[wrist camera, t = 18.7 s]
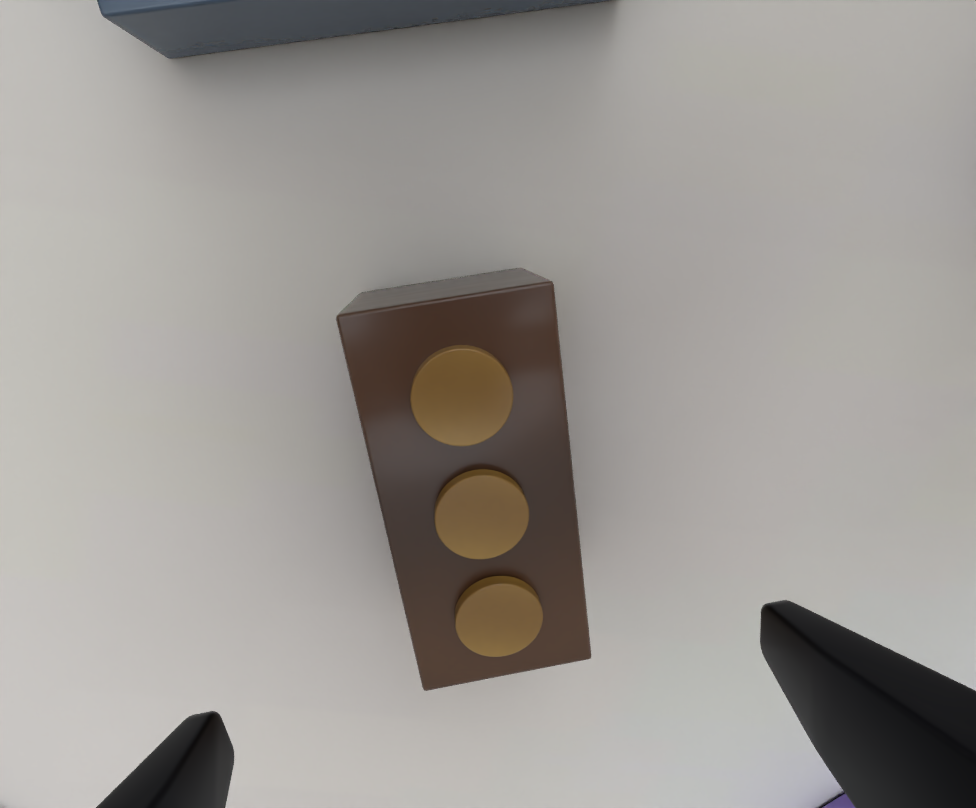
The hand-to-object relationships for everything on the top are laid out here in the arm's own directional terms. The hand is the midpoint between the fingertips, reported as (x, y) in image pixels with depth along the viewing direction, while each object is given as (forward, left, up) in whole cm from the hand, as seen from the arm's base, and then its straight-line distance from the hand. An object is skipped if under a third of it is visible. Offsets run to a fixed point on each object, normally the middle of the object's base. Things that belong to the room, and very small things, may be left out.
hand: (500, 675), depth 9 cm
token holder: (0, 0, -10) cm, 10 cm away
